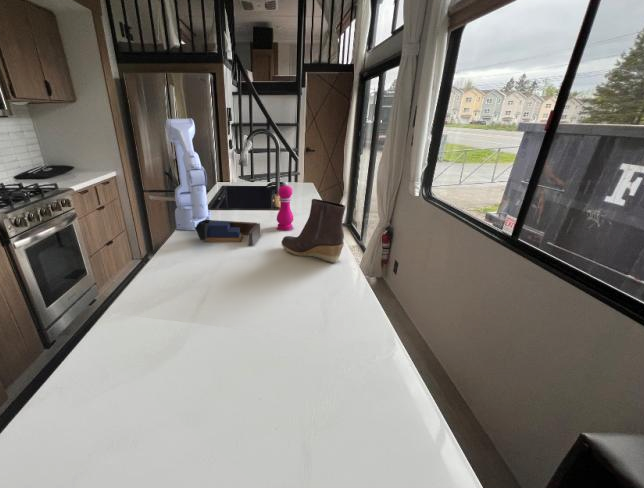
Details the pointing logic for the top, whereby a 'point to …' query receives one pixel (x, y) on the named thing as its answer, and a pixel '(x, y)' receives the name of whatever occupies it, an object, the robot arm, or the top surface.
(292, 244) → the boot
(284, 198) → the pepper mill
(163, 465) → the top surface
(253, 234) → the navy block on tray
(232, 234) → the trainer
